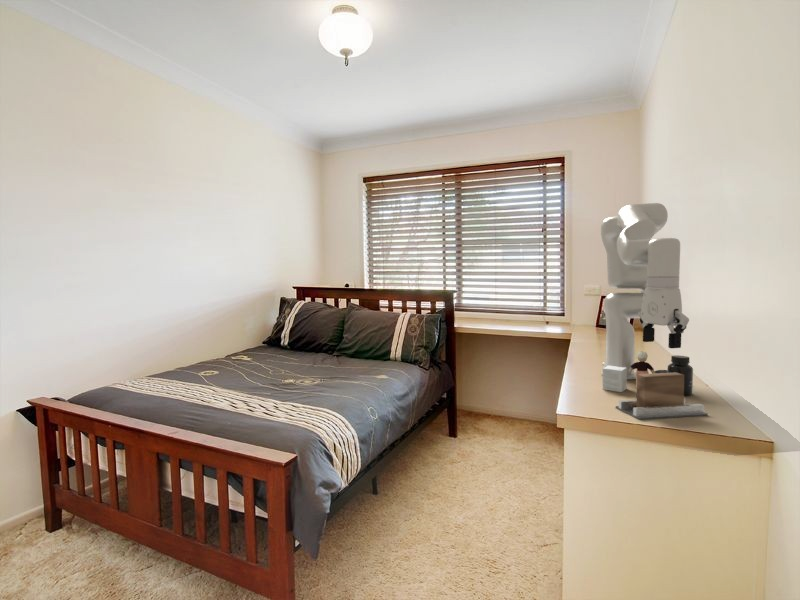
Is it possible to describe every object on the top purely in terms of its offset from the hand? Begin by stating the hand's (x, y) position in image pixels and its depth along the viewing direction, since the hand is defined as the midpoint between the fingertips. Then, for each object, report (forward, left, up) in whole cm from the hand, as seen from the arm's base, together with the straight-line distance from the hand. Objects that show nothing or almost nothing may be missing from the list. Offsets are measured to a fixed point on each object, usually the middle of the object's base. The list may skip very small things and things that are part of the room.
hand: (661, 344), depth 114 cm
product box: (-23, +2, -19) cm, 30 cm away
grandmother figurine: (-22, +11, -19) cm, 31 cm away
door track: (0, 0, -19) cm, 19 cm away
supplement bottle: (-15, +19, -19) cm, 31 cm away
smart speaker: (-27, +25, -19) cm, 41 cm away
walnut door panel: (0, 0, -18) cm, 18 cm away
